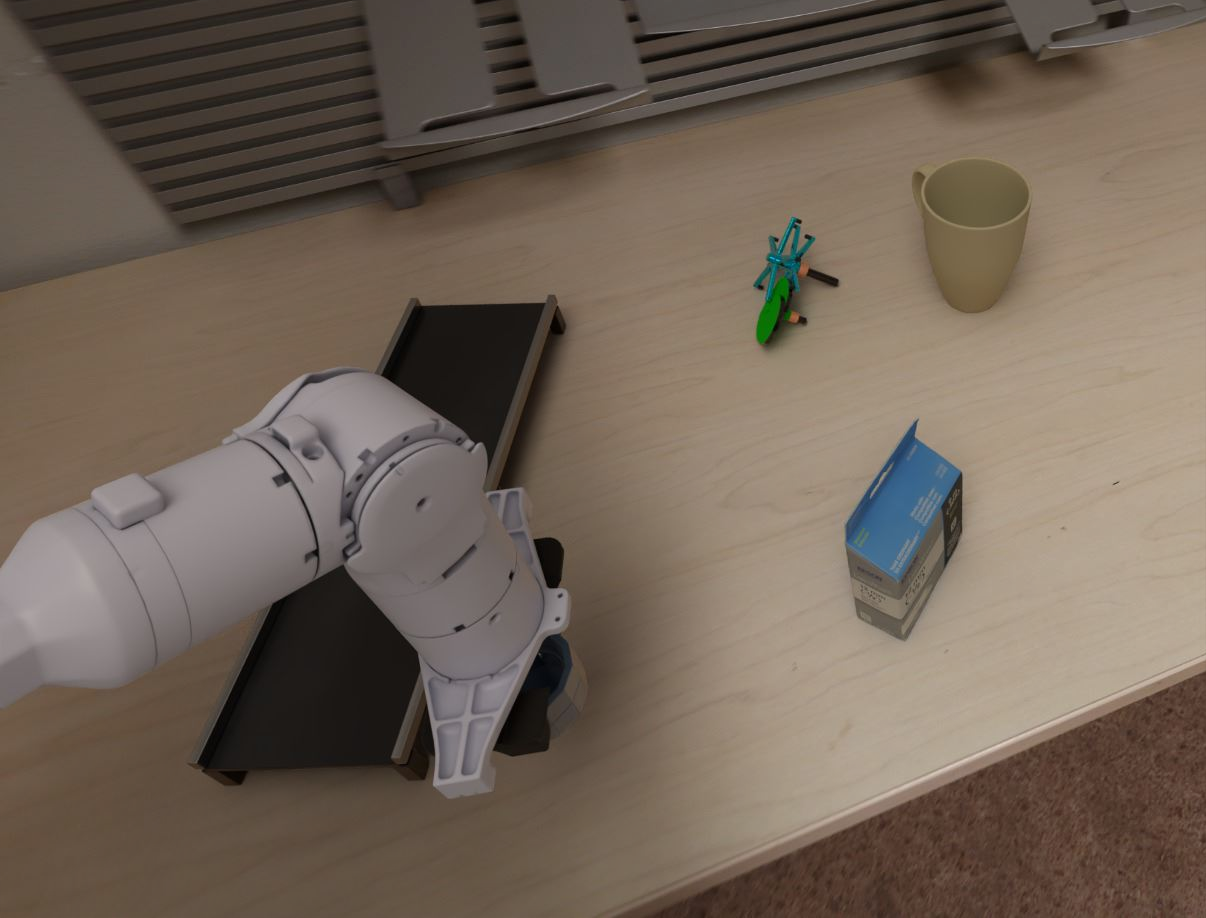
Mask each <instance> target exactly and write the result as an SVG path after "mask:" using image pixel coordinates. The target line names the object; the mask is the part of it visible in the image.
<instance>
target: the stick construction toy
mask: <svg viewBox="0 0 1206 918" xmlns="http://www.w3.org/2000/svg"><path fill="white" fill-rule="evenodd" d="M802 223H803V220H802V219H800V218H797V217H795V216H792V217H791V219H790V221H789V222H788V225H787V227H786V229H785V231H784V234H783V236H782V238H781V239H780V238H778V237H776V236H774V235H769V236H768V245H769V250H770V251H769V253H767V255H766V257H765V260H766V262H768V263H767V264H766V266H765V268H764V269H763V270H762V272H761V273H760V274H759V276H758V277H757V278H756V280H755V281H754V283H753V284H752V287H753V288H755V289H757V290H758V289H759V290H760V291H761V290H764V285H763V284H762V282H764V281H765V279H766V278H767V277H768V275H769V277H768V282H767V289H766V294H765V298H764V305H763V307H762V308H761V311H760V312H759V315H758V318H757V322H756V330H755V336H756V341H757V342H758V343H759V344H761V345H764V346H768V345H769V344H770V343H771V342H772V340H773V339H774V337H775V336H776V334H777V331H778V329H779V327H780V325H781V322H782V320H784V321H787V322H790V323H793V324H796V323H797V324H800V325H806V324H807V321H808V318H807V317H806V316H803V315H800V313H799V312H796V311H794V310H792V309H791V310H790V309H789V308H790V306H791V302H792V299H793V292H797V293H799V292H800V289H801V288H800V284H799V280H798V279H799V278H801V279H804V278H805V277H808V278H811V279H813V280H816V281H819V282H822V283H823V284H827V285H829V286H832V287H837V286H838V285H839V283H840V279H839V278H837V277H835V276H832V275H829V274H828V273H824V272H822V271H819V270H816V269H814V268H811V267H810V264H809V263H808V262H805V261H803V260H802V258H803V256H805V254H806V253H807V251H808V250H809V249H810V247H811V246H812V245H813V243H814V242H815V241H816V237H815V236H813V235H810V234H808V233H805V234H804V236H803V237H804V239H805V240H806V241H805V243H804V244H803V245H802V246H801V248H800V249H799V250H798V247H799V239H800V234H801V225H802ZM793 229H794V233H793V238H792V242H791V247H790V251H789V254H783V253H784V251H785V248H786V245H787V243H788V241H789V239H790V236H791V234H792V232H793ZM777 243H779V244H778V247H777ZM778 271H784V272H783V274H782V276H781V277H779V279H778V280H777V282H776V283H775V281H776V278H777V273H778Z"/></svg>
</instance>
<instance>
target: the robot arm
mask: <svg viewBox="0 0 1206 918" xmlns="http://www.w3.org/2000/svg"><path fill="white" fill-rule="evenodd" d="M487 464H488V463H487V453H486V449H485V446H484V444H483V443H478V444H476V446H475V443H474V442H473V441H471V440H470V438H469V437H468V436H467V434H466V433H465V432H464V431H463V430H461V429H460V428H458V427H457V426H455V425H454V424H452V423H451V422H450V421H448V420H447V419H445V418H444V417H442V416H441V415H439V414H438V413H436V412H435V411H433V410H432V409H430V408H429V407H427V406H426V405H424V404H423V403H421V402H420V401H418V400H417V399H415V398H414V397H412V396H411V395H409V394H408V393H406V392H405V391H403V390H402V389H401V388H399V387H398V386H396V385H395V384H393V383H392V382H390V381H389V380H388V379H386V378H384V377H382V376H380V375H377V374H375V372H373V371H371V370H369V369H367V368H365V367H360V366H352V365H351V366H350V365H345V366H336V367H332V368H327V369H324V370H321V371H312V372H306V373H304V374H303V375H301V376H298V377H297V378H296V379H294V380H293V381H291V382H289V383H288V384H287V385H286V386H284V387H283V388H282V389H281V390H279V391H278V392H277V393H276V394H275V395H274V396H273V397H272V398H271V399H270V400H269V401H268V403H267V404H266V405H265V406H264V407H263V408H262V409H261V410H260V411H259V413H257V415H256V416H255V417H254V418H252V419H251V420H250V421H248V422H246V423H244V424H242V425H239V426H238V427H236V428H232V434H231V435H229V436H226V437H223V439H222V440H221V445H219V446H216V447H214V448H212V449H209V450H207V451H204V452H202V453H199V454H197V455H193V456H192V457H189V458H187V459H185V460H181V461H179V462H177V463H175V464H172V465H169V466H167V467H164V468H162V469H160V470H157V471H155V472H153V473H149V474H148V475H145V476H143V474H141V473H139V472H132V473H130V474H127V475H125V476H122V477H120V478H117V479H115V480H113V481H110V482H107V483H105V484H103V485H100V486H97V487H94V488H93V490H92V491H91V493H90V497H91V498H89V499H87V500H84V501H81V502H80V503H77V504H74V505H71V506H70V507H67V508H64V509H62V510H61V509H60V510H59V511H56V512H54V513H52V514H49V515H47V516H44V517H42V518H39V519H37V520H35V521H34V522H32V523H31V524H30V525H29V526H28V527H27V529H26V530H25V531H24V532H23V533H22V535H21V536H20V538H19V540H18V541H17V542H16V544H15V546H14V547H13V548H12V550H11V552H10V553H9V554H8V556H7V558H5V560H4V562H3V563H2V565H1V566H0V712H1V711H2V710H4V709H6V708H7V707H9V706H11V705H12V704H15V703H16V702H18V701H19V700H21V699H23V698H25V697H27V696H28V695H29V694H31V693H33V692H35V691H36V690H38V689H40V688H43V687H44V688H46V687H47V688H48V687H66V688H79V689H94V690H115V689H120V688H123V687H125V686H127V685H129V684H131V683H132V682H134V681H136V680H138V679H139V678H141V677H143V676H145V675H146V674H148V673H150V672H152V671H154V670H156V669H158V668H159V667H160V666H163V665H164V664H166V663H168V662H170V661H171V660H173V659H175V658H177V657H178V656H180V655H182V654H185V653H186V652H189V651H190V650H192V649H194V648H195V647H197V646H200V644H202V643H204V642H206V641H208V640H209V639H211V638H213V637H215V636H217V635H219V634H221V633H222V632H224V631H226V630H227V629H229V628H231V627H233V626H235V625H236V624H238V623H241V622H242V621H244V620H246V619H248V618H249V617H251V616H253V615H254V614H256V613H258V612H260V610H262V609H264V608H265V607H267V606H269V605H271V604H273V603H274V602H276V601H278V600H280V599H282V598H283V597H285V596H287V595H289V594H291V593H292V592H294V591H296V590H298V589H299V588H301V587H303V586H305V585H307V584H308V583H310V582H312V581H314V580H316V579H317V578H319V577H321V576H323V575H324V574H326V573H328V572H330V571H332V570H334V569H335V568H337V567H339V566H341V565H343V564H344V566H345V568H346V570H347V572H348V573H349V575H350V576H351V577H352V579H353V580H354V581H355V582H356V583H357V584H358V585H359V586H360V588H361V589H362V590H363V591H364V592H365V593H366V594H367V595H368V596H369V598H370V599H371V600H372V601H373V602H374V603H375V604H376V605H377V607H378V608H379V609H380V610H381V611H382V612H383V613H384V614H385V616H386V617H387V618H388V619H389V620H390V621H391V622H392V623H393V625H394V626H395V627H396V628H397V629H398V630H399V631H400V633H401V634H402V635H403V636H404V637H405V638H406V639H407V641H408V642H409V643H410V644H411V645H412V646H413V647H414V648H415V650H416V651H417V652H418V656H419V661H420V667H421V672H422V678H423V683H424V689H425V694H426V700H427V703H426V705H427V706H426V710H425V715H424V720H423V721H424V722H423V726H422V731H421V736H420V742H421V746H422V749H424V751H426V753H428V755H430V757H433V758H434V759H435V761H434V772H433V780H432V786H433V787H434V788H435V789H436V790H437V791H438V792H439V793H440V794H442V795H443V797H445V798H446V799H448V800H452V799H457V798H465V797H472V796H478V795H480V794H481V795H482V794H487V793H493V792H494V789H495V784H496V783H495V782H496V776H497V768H496V766H494V764H492V762H491V758H492V754H493V752H496V753H500V754H503V755H506V756H507V757H511V758H514V757H520V756H525V755H532V754H537V753H542V752H547V751H548V750H549V749H550V743H551V742H550V741H551V740H550V733H551V732H550V727H549V725H548V722H547V720H546V718H547V709H548V700H549V691H550V687H547V688H540V689H534V690H528V691H522V692H519V691H520V689H521V687H522V685H523V682H524V680H525V678H526V676H527V674H528V672H529V670H530V668H531V665H532V663H533V661H534V659H535V657H536V655H537V653H538V650H539V648H540V646H541V644H542V642H543V640H544V639H545V638H546V637H547V636H549V635H553V634H560V635H561V634H562V633H563V632H565V631H566V630H567V628H568V627H569V624H570V621H571V612H572V611H571V610H572V596H571V594H570V592H569V591H568V590H567V589H566V588H565V587H559V586H560V583H561V582H562V578H563V568H564V561H565V548H564V546H563V545H562V543H561V542H560V541H559V539H557V538H555V537H551V536H546V537H538V538H533V535H532V532H531V528H530V525H529V521H531V519H532V517H533V509H534V504H533V502H532V501H531V499H530V497H529V495H528V493H527V491H526V490H525V488H524V487H523V486H519V487H512V488H511V487H510V488H505V489H501V490H497V491H490V492H486V494H485V493H484V492H483V490H482V489H483V486H484V482H485V479H486V474H487ZM561 636H562V635H561Z"/></svg>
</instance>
